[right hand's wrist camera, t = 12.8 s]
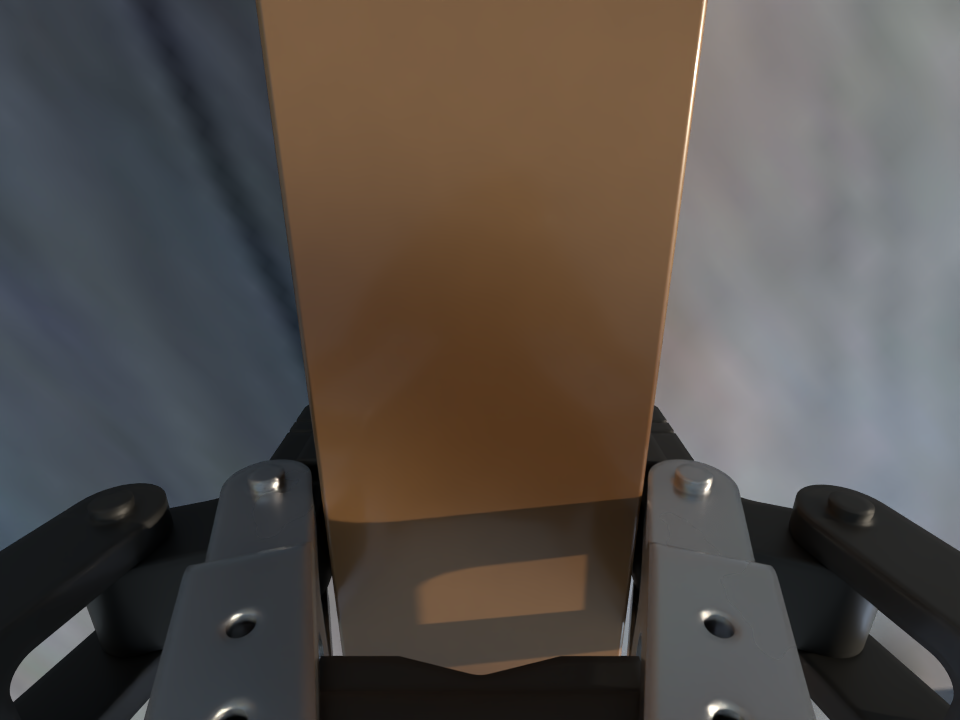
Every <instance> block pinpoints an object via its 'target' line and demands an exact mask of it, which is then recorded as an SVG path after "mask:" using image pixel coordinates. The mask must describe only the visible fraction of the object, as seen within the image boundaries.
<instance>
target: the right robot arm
mask: <svg viewBox="0 0 960 720" xmlns="http://www.w3.org/2000/svg"><path fill="white" fill-rule="evenodd" d="M331 576H332V571H331V563H330V556H329V548H328V541H327V533H326V526H325V518H324V511H323V503H322V496H321V488H320V481H319V473H318V466H317V458H316V451H315V443H314V436H313V428H312V421H311V413H310V406H309V405H308V406H306V407H305V408H304V410H303V411H302V413H301V414H300V416H299V417H298V419H297V422H295V423H294V425H293V426H292V428H291V429H290V433H288V434H287V435H286V437H285V438H284V440H283V441H282V443H281V444H280V446H279V447H278V448H277V450H276V451H275V453H274V454H273V456H272V457H271V459H270V460H269V461H264V462H260V463H256V464H253V465H251V466H248V467H246V468H244V469H242V470H240V471H238V472H236V473H235V474H234V475H232V476H231V477H230V478H229V479H228V480H227V481H226V482H225V483H224V485H223V487H222V489H221V493H220V497H219V498H218V499H214V500H209V501H205V502H200V503H194V504H189V505H184V506H179V507H174V508H169V504H168V501H167V497H166V494H165V491H164V490H163V489H162V488H160V487H158V486H156V485H153V484H146V483H136V484H127V485H121V486H117V487H113V488H110V489H107V490H104V491H101V492H98V493H96V494H94V495H92V496H89V497H87V498H85V499H84V500H82V501H80V502H78V503H77V504H75V505H74V506H72V507H70V508H69V509H67V510H66V511H64V512H62V513H61V514H59V515H58V516H56V517H54V518H53V519H51V520H50V521H48V522H46V523H45V524H43V525H42V526H40V527H38V528H37V529H35V530H34V531H32V532H30V533H29V534H27V535H26V536H24V537H23V538H21V539H19V540H18V541H16V542H15V543H13V544H11V545H10V546H8V547H7V548H5V549H3V550H2V551H0V720H130V719H131V718H132V717H133V716H134V715H135V714H136V713H137V711H138V710H139V709H140V708H141V707H142V706H143V705H144V704H145V703H146V701H147V700H148V699H149V698H150V699H149V703H148V706H147V710H146V714H145V717H144V720H816V717H815V714H814V710H813V706H812V703H811V699H812V700H813V701H814V702H815V704H816V705H817V706H818V707H819V708H820V709H821V710H822V711H823V712H824V714H825V715H826V716H827V717H828V718H829V719H830V720H960V551H958V550H957V549H955V548H953V547H952V546H950V545H949V544H947V543H945V542H944V541H942V540H941V539H939V538H938V537H936V536H934V535H933V534H931V533H930V532H928V531H926V530H925V529H923V528H922V527H920V526H918V525H917V524H915V523H914V522H912V521H910V520H909V519H907V518H906V517H904V516H902V515H901V514H899V513H898V512H896V511H894V510H893V509H891V508H890V507H888V506H886V505H885V504H883V503H881V502H880V501H878V500H876V499H874V498H872V497H870V496H868V495H865V494H863V493H860V492H857V491H854V490H851V489H848V488H843V487H839V486H833V485H811V486H807V487H804V488H802V489H801V490H800V491H799V492H798V493H797V495H796V498H795V502H794V506H793V509H792V508H787V507H782V506H777V505H771V504H766V503H761V502H756V501H752V500H748V499H744V498H741V497H740V493H739V489H738V487H737V485H736V483H735V482H734V481H733V480H732V479H731V478H730V477H729V476H728V475H726V474H725V473H724V472H722V471H720V470H718V469H716V468H714V467H712V466H709V465H707V464H704V463H700V462H696V461H694V460H693V458H692V457H691V455H690V454H689V453H688V451H687V450H686V448H685V447H684V445H683V444H682V442H681V441H680V439H679V438H678V436H677V435H676V433H674V431H673V429H672V428H671V426H670V425H669V423H667V422H666V419H665V417H664V416H663V414H662V413H661V412H660V410H659V409H658V407H656V406H654V409H653V417H652V424H651V432H650V439H649V447H648V454H647V462H646V469H645V477H644V485H643V492H642V500H641V507H640V515H639V522H638V530H637V537H636V545H635V552H634V560H633V568H632V577H633V580H634V581H633V589H632V596H631V605H630V620H629V634H628V649H627V656H559V657H555V658H551V659H547V660H543V661H539V662H535V663H531V664H527V665H523V666H519V667H515V668H510V669H506V670H502V671H498V672H494V673H490V674H485V675H475V674H470V673H466V672H462V671H458V670H454V669H450V668H445V667H441V666H437V665H433V664H429V663H425V662H421V661H417V660H413V659H409V658H405V657H401V656H333V649H332V634H331V620H330V605H329V596H328V589H327V587H328V585H329V582H330V579H331ZM86 606H87V609H88V611H89V614H90V617H91V620H92V622H93V625H94V628H95V631H94V632H93V633H92V634H90V635H89V636H88V637H87V638H86V639H85V640H84V641H82V642H81V643H80V644H79V645H78V646H77V647H76V648H74V649H73V650H72V651H71V652H70V653H69V654H68V655H66V656H65V657H64V658H63V659H62V660H61V661H60V662H59V663H57V664H56V665H55V666H54V667H53V668H52V669H51V670H49V671H48V672H47V673H46V674H45V675H44V676H43V677H41V678H40V679H39V680H38V681H37V682H36V683H35V684H33V685H32V686H31V687H30V688H29V689H28V690H27V691H26V692H24V693H23V694H22V695H21V696H20V697H19V698H18V699H16V700H15V701H14V702H13V701H12V699H11V696H10V684H11V680H12V677H13V675H14V673H15V671H16V669H17V668H18V666H19V665H20V663H21V662H22V661H23V659H24V658H25V657H26V656H27V655H28V654H29V653H30V652H31V651H32V650H33V649H34V648H36V647H37V646H38V645H39V644H41V643H42V642H43V641H44V640H45V639H47V638H48V637H49V636H50V635H51V634H53V633H54V632H55V631H56V630H58V629H59V628H60V627H61V626H62V625H64V624H65V623H66V622H67V621H69V620H70V619H71V618H72V617H73V616H75V615H76V614H77V613H78V612H79V611H81V610H82V609H83V608H84V607H86ZM878 610H879V611H881V612H882V613H883V614H884V615H885V616H887V617H888V618H889V619H890V620H891V621H893V622H894V623H895V624H896V625H898V626H899V627H900V628H901V629H902V630H904V631H905V632H906V633H907V634H909V635H910V636H911V637H912V638H913V639H915V640H916V641H917V642H918V643H920V644H921V645H922V646H923V647H924V648H926V649H927V650H928V651H929V652H930V653H932V654H933V655H934V656H935V657H936V658H937V659H938V660H939V662H940V663H941V664H942V665H943V667H944V668H945V670H946V671H947V673H948V675H949V677H950V679H951V682H952V685H953V689H954V698H953V701H952V703H951V705H949V704H948V703H947V702H946V701H945V700H944V699H942V698H941V697H940V696H939V695H938V694H937V693H936V692H935V691H933V690H932V689H931V688H930V687H929V686H928V685H927V684H925V683H924V682H923V681H922V680H921V679H920V678H919V677H917V676H916V675H915V674H914V673H913V672H912V671H911V670H909V669H908V668H907V667H906V666H905V665H904V664H903V663H901V662H900V661H899V660H898V659H897V658H896V657H895V656H894V655H892V654H891V653H890V652H889V651H888V650H887V649H886V648H884V647H883V646H882V645H881V644H880V643H879V642H878V641H876V640H875V639H874V638H873V637H872V636H871V635H870V634H869V632H870V629H871V627H872V624H873V621H874V619H875V616H876V613H877V611H878ZM810 698H811V699H810Z"/></svg>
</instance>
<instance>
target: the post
mask: <svg viewBox="0 0 960 720" xmlns="http://www.w3.org/2000/svg"><path fill="white" fill-rule="evenodd" d="M255 1H256V8H257V16H258V23H259V31H260V38H261V46H262V53H263V61H264V68H265V76H266V83H267V91H268V98H269V106H270V113H271V121H272V128H273V136H274V143H275V151H276V158H277V166H278V173H279V181H280V188H281V196H282V203H283V211H284V218H285V226H286V233H287V241H288V248H289V256H290V263H291V271H292V278H293V286H294V293H295V301H296V308H297V316H298V323H299V331H300V338H301V346H302V353H303V361H304V368H305V376H306V383H307V391H308V398H309V406H310V413H311V421H312V428H313V436H314V443H315V451H316V458H317V466H318V473H319V481H320V488H321V496H322V503H323V511H324V518H325V526H326V533H327V541H328V548H329V556H330V563H331V571H332V578H333V586H334V593H335V601H336V608H337V616H338V623H339V631H340V638H341V646H342V653H343V656H401V657H405V658H409V659H413V660H417V661H421V662H425V663H429V664H433V665H437V666H441V667H445V668H450V669H454V670H458V671H462V672H466V673H470V674H475V675H485V674H490V673H494V672H498V671H502V670H506V669H510V668H515V667H519V666H523V665H527V664H531V663H535V662H539V661H543V660H547V659H551V658H555V657H559V656H621V651H622V643H623V635H624V628H625V620H626V613H627V605H628V598H629V590H630V583H631V575H632V568H633V560H634V552H635V545H636V537H637V530H638V522H639V515H640V507H641V500H642V492H643V485H644V477H645V469H646V462H647V454H648V447H649V439H650V432H651V424H652V417H653V409H654V402H655V394H656V386H657V379H658V371H659V364H660V356H661V349H662V341H663V334H664V326H665V319H666V311H667V303H668V296H669V288H670V281H671V273H672V266H673V258H674V251H675V243H676V236H677V228H678V220H679V213H680V205H681V198H682V190H683V183H684V175H685V168H686V160H687V153H688V145H689V137H690V130H691V122H692V115H693V107H694V100H695V92H696V85H697V77H698V70H699V62H700V54H701V47H702V39H703V32H704V24H705V17H706V9H707V2H708V0H255Z"/></svg>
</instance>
